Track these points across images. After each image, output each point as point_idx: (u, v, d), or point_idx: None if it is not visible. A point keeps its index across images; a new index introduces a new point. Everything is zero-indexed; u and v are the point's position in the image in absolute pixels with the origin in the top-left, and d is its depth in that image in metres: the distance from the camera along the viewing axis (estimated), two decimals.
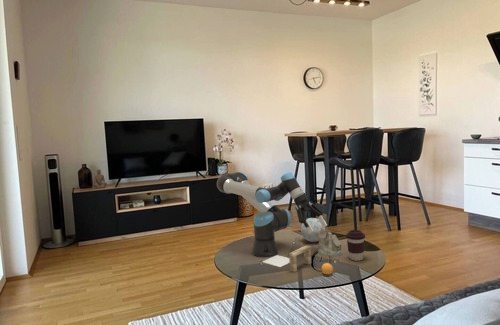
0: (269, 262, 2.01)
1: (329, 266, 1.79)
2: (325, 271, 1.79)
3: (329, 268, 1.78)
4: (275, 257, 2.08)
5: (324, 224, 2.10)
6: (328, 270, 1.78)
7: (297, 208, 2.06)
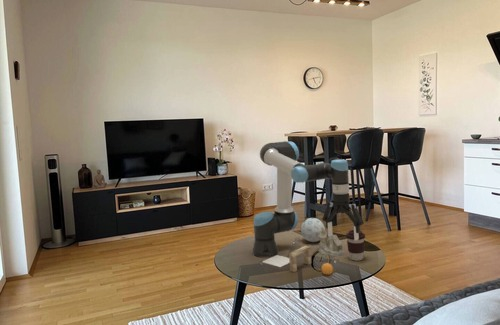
0: (269, 262, 2.01)
1: (329, 266, 1.79)
2: (325, 271, 1.79)
3: (329, 268, 1.78)
4: (275, 257, 2.08)
5: None
6: (328, 270, 1.78)
7: None
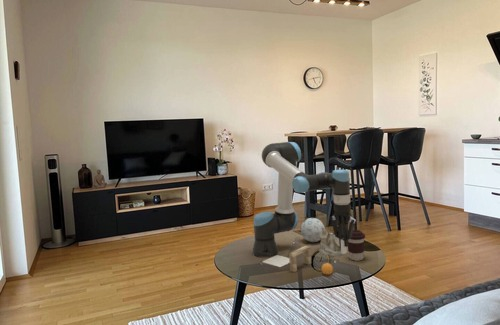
0: (269, 262, 2.01)
1: (329, 266, 1.79)
2: (325, 271, 1.79)
3: (329, 268, 1.78)
4: (275, 257, 2.08)
5: None
6: (328, 270, 1.78)
7: None
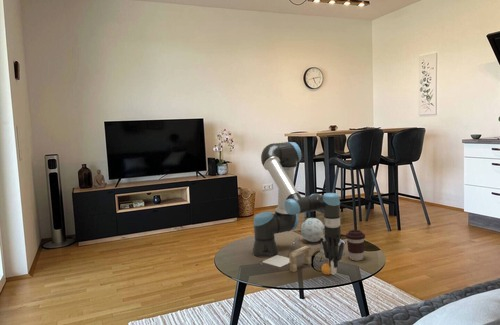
0: (269, 262, 2.01)
1: (329, 266, 1.79)
2: (325, 271, 1.79)
3: (329, 268, 1.79)
4: (275, 257, 2.08)
5: None
6: (328, 270, 1.78)
7: None
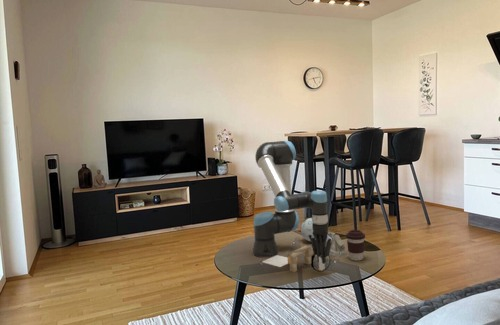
0: (269, 262, 2.01)
1: None
2: None
3: None
4: (275, 257, 2.08)
5: None
6: None
7: None
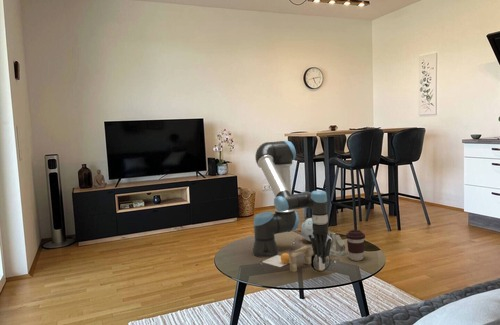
0: (269, 262, 2.01)
1: None
2: (282, 258, 1.97)
3: None
4: (275, 257, 2.08)
5: None
6: None
7: None
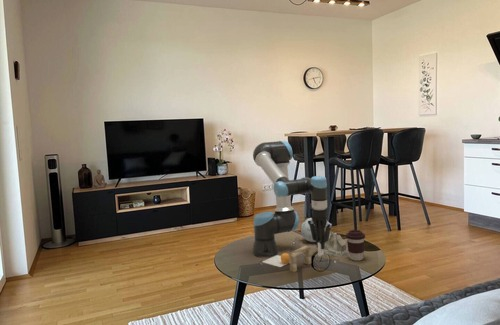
0: (269, 262, 2.01)
1: None
2: (282, 258, 1.97)
3: None
4: (275, 257, 2.08)
5: None
6: None
7: None
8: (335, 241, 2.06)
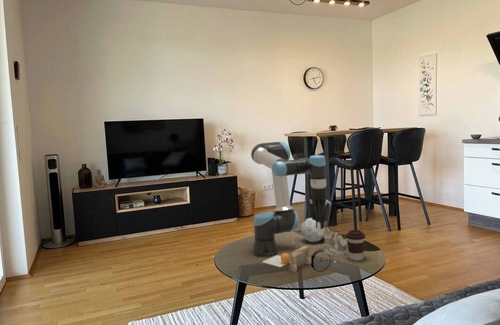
0: (269, 262, 2.01)
1: None
2: (282, 258, 1.97)
3: None
4: (275, 257, 2.08)
5: None
6: None
7: None
8: (336, 241, 2.06)
